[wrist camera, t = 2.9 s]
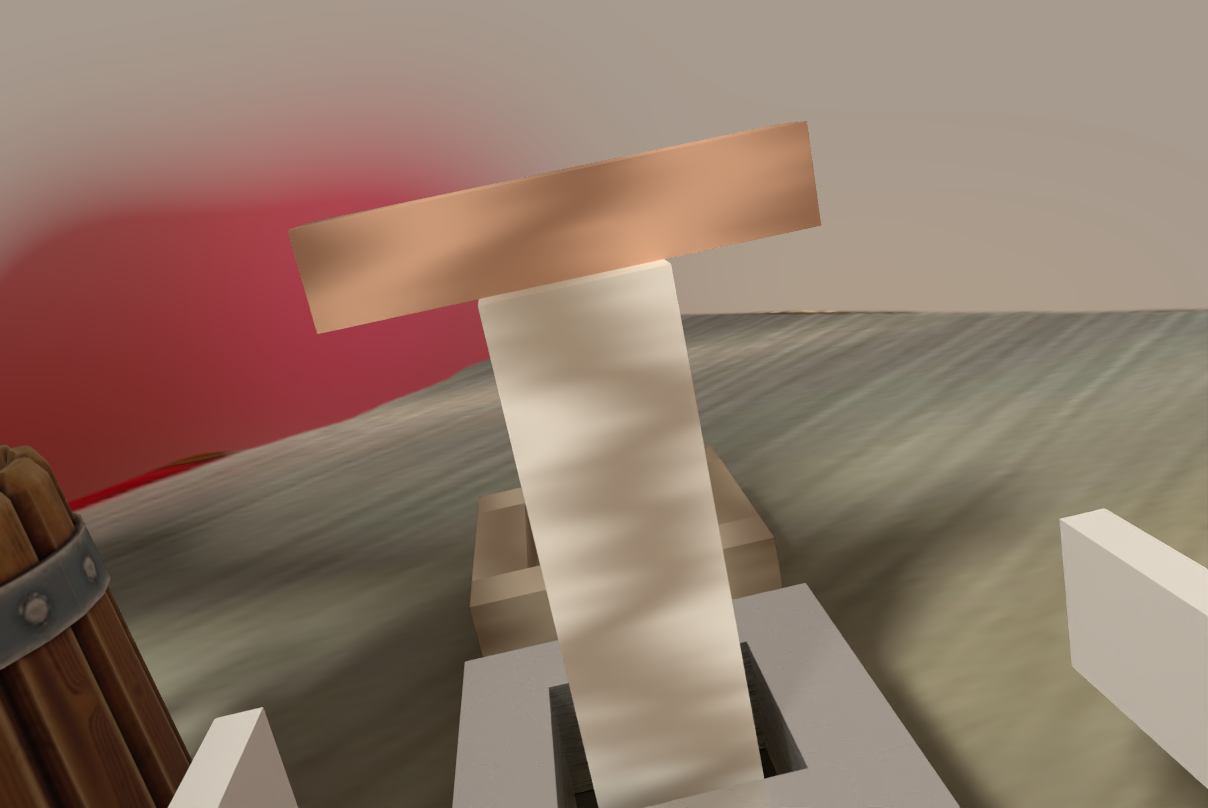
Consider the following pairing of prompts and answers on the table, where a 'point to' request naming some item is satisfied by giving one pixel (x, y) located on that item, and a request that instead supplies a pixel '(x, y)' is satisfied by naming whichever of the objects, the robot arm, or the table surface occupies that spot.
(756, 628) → the plate
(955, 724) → the table surface
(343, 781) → the table surface
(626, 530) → the t-key
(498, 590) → the block
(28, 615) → the mug
